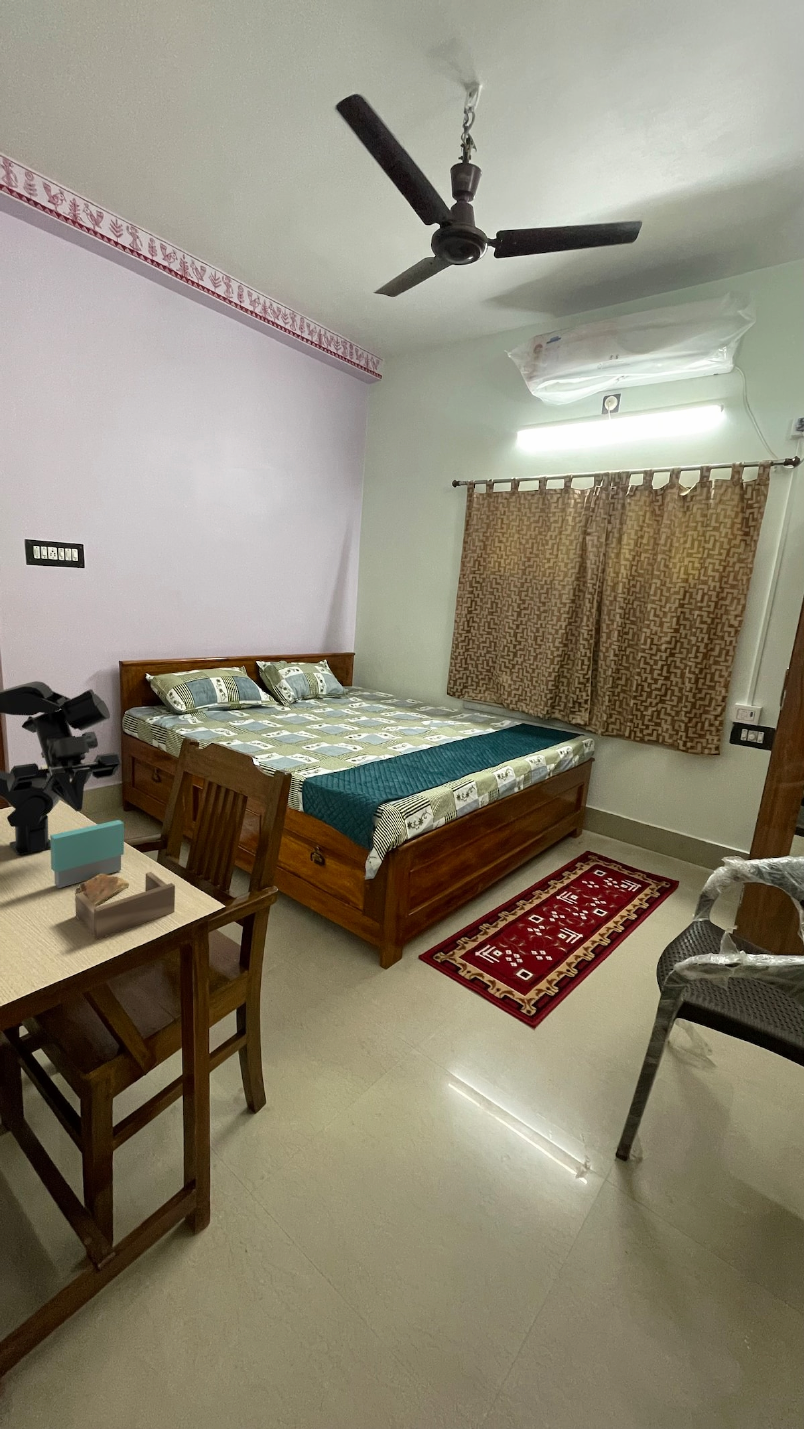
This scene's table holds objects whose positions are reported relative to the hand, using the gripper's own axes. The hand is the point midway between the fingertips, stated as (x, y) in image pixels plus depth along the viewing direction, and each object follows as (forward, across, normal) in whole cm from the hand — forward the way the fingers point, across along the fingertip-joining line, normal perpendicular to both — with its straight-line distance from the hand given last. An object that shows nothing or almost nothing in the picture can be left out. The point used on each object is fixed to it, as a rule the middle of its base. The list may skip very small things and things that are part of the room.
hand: (79, 810), depth 108 cm
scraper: (+12, 0, +6) cm, 13 cm away
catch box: (+23, 0, -6) cm, 23 cm away
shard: (+17, 0, +1) cm, 17 cm away
